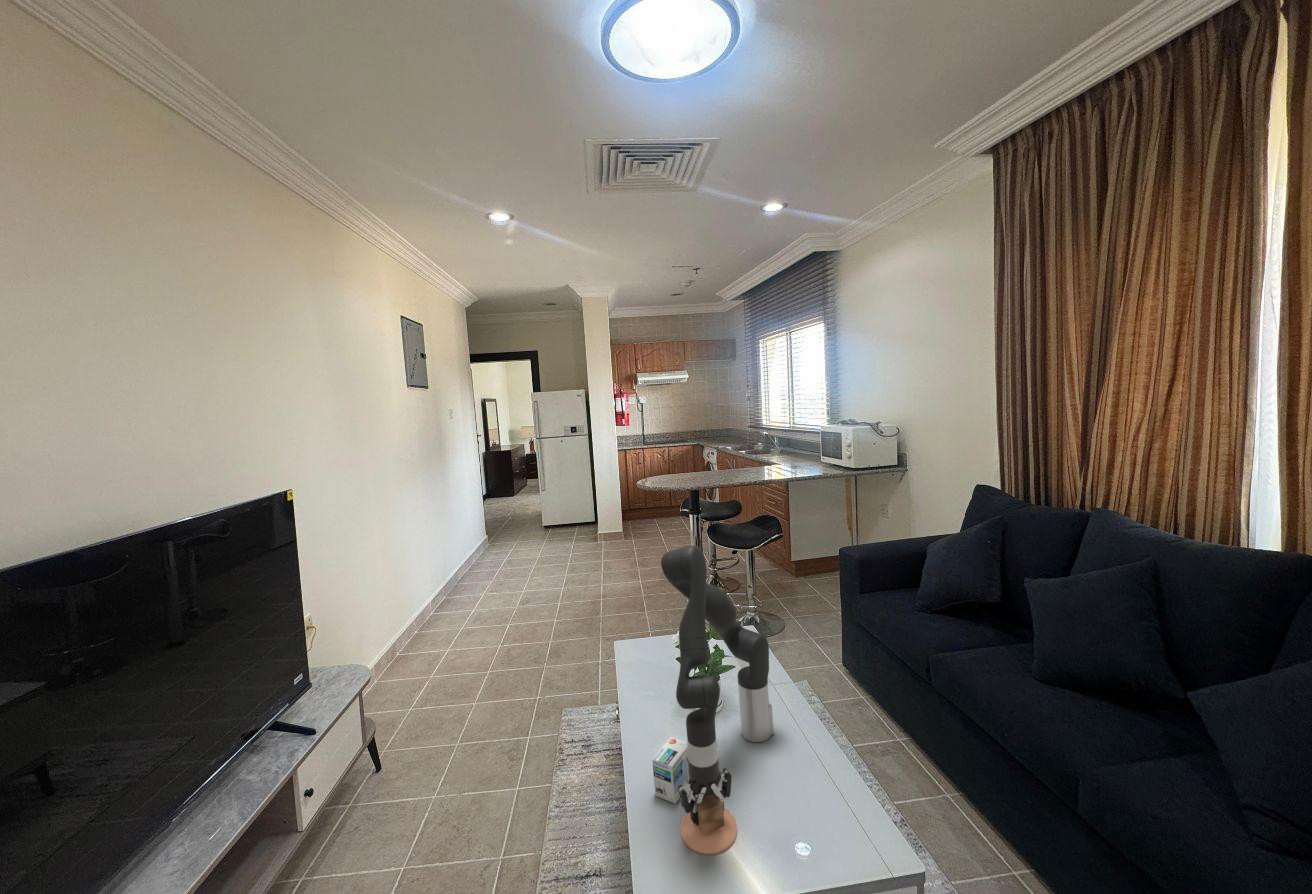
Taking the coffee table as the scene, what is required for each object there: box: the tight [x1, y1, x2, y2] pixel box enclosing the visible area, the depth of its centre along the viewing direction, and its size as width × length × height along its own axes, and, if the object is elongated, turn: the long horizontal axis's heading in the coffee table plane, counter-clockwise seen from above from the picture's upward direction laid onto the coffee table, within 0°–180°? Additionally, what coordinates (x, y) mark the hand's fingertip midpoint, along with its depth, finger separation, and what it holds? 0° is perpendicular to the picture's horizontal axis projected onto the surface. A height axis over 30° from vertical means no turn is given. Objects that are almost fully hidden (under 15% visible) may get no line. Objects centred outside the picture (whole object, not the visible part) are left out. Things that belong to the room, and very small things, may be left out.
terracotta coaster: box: [679, 807, 738, 856], centre depth 129 cm, size 14×14×1 cm
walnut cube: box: [689, 792, 725, 835], centre depth 129 cm, size 6×6×6 cm
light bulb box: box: [651, 736, 690, 804], centre depth 144 cm, size 11×7×11 cm, turn 148°
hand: (707, 817), depth 129 cm, fingers closed on walnut cube, 6 cm apart
